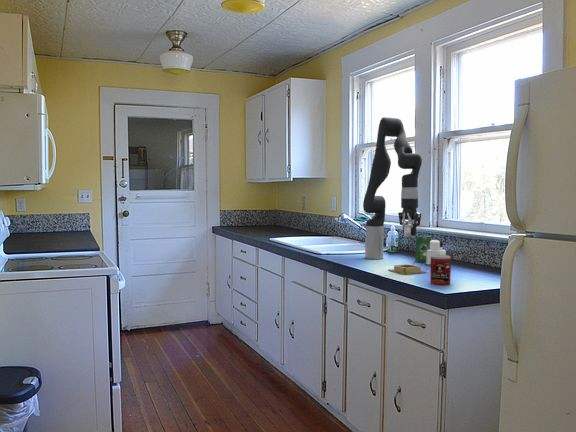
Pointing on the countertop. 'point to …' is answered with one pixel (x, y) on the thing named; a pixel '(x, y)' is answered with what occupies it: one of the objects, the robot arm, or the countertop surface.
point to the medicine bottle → (434, 250)
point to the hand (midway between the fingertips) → (409, 235)
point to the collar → (407, 269)
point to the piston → (407, 231)
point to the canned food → (440, 269)
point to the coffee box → (422, 248)
